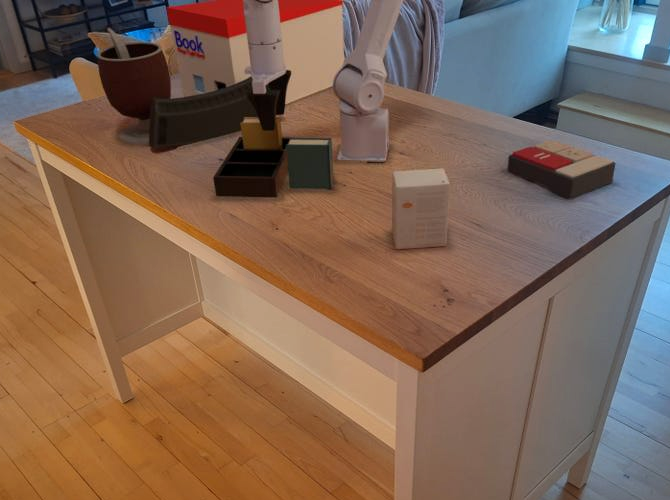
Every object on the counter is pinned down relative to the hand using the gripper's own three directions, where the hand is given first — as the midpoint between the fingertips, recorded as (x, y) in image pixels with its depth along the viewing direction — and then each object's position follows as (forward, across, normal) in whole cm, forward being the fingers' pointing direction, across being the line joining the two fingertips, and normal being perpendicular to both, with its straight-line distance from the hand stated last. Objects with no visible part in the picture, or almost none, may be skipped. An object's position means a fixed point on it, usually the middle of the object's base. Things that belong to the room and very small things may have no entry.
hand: (273, 121), depth 118 cm
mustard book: (+9, -5, -4) cm, 11 cm away
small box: (+10, +23, +28) cm, 37 cm away
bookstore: (+10, -46, -14) cm, 49 cm away
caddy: (+10, +1, -4) cm, 11 cm away
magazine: (+10, -18, -17) cm, 27 cm away
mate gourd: (+10, -19, -34) cm, 40 cm away
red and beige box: (+10, -1, +51) cm, 52 cm away
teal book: (+10, +5, +7) cm, 13 cm away
